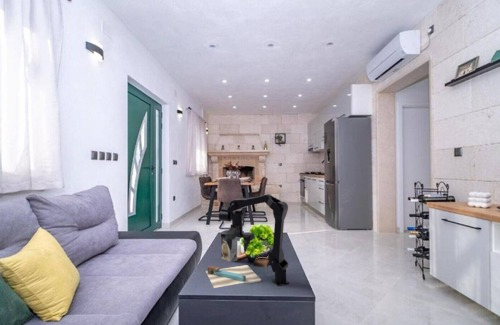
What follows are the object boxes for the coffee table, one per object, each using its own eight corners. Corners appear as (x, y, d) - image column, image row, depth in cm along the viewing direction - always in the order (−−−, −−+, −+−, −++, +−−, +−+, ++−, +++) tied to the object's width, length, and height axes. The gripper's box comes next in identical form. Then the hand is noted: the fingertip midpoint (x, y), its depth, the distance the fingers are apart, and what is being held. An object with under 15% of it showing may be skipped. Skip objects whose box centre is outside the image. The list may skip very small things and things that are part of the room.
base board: (261, 281, 128) (261, 279, 128) (214, 289, 120) (214, 287, 120) (247, 266, 148) (247, 265, 148) (205, 272, 139) (205, 271, 139)
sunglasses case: (267, 267, 146) (261, 256, 147) (257, 272, 147) (251, 262, 148) (273, 256, 163) (268, 247, 164) (264, 261, 164) (259, 252, 166)
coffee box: (220, 259, 160) (220, 233, 161) (229, 256, 165) (228, 231, 165) (229, 262, 153) (229, 235, 154) (237, 260, 158) (237, 234, 158)
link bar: (246, 279, 128) (246, 275, 128) (243, 281, 126) (243, 277, 126) (217, 272, 137) (217, 268, 137) (213, 274, 135) (213, 270, 135)
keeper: (219, 274, 135) (219, 267, 135) (216, 276, 133) (216, 269, 133) (210, 271, 138) (210, 265, 138) (207, 273, 136) (207, 267, 136)
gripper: (214, 223, 136) (214, 253, 136) (244, 226, 127) (245, 258, 127) (226, 219, 146) (226, 247, 146) (255, 222, 137) (255, 252, 137)
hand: (237, 251), depth 138 cm, fingers open, 9 cm apart
